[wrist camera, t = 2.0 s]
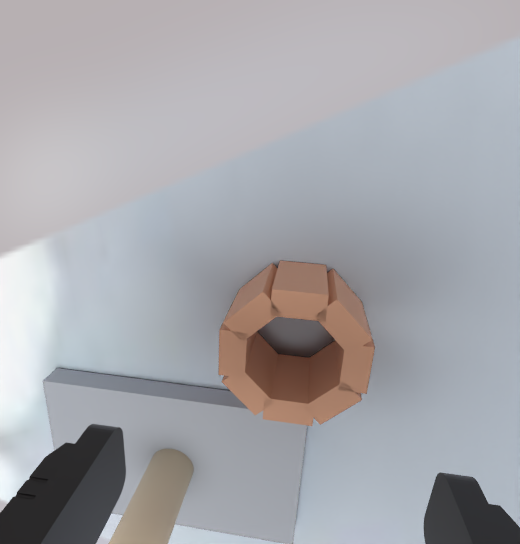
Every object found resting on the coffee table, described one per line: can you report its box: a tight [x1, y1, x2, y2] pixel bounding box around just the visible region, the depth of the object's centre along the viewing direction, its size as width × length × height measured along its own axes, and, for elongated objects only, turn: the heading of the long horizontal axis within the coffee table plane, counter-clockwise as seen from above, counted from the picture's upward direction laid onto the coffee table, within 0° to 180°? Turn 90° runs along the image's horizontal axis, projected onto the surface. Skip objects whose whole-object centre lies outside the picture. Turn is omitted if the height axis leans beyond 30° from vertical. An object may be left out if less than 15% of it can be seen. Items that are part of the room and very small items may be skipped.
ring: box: [219, 261, 375, 426], centre depth 17 cm, size 6×6×4 cm
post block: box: [43, 368, 307, 544], centre depth 18 cm, size 14×9×9 cm, turn 87°
